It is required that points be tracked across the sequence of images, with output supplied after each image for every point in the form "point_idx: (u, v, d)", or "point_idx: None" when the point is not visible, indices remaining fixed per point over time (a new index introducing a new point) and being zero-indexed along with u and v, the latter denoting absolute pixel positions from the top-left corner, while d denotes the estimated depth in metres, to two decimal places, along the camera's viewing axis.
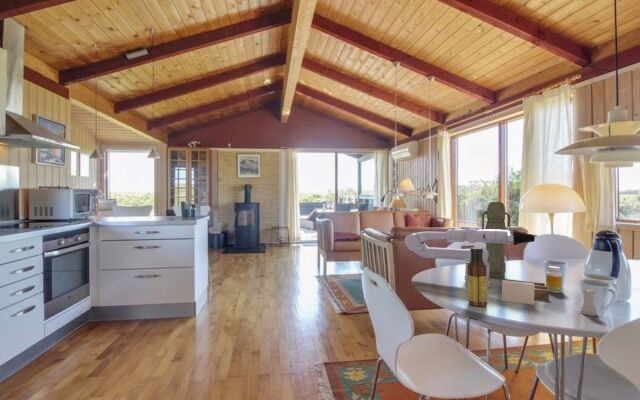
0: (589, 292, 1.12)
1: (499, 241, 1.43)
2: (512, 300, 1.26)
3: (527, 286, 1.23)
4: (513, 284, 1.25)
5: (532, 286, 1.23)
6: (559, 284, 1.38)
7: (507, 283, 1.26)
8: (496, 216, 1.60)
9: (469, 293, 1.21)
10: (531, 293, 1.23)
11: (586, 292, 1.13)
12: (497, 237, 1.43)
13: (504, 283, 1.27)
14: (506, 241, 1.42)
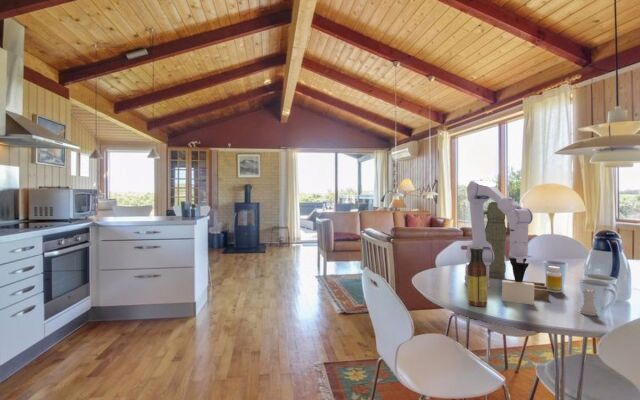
0: (589, 292, 1.12)
1: (513, 246, 1.25)
2: (512, 300, 1.26)
3: (527, 286, 1.23)
4: (513, 284, 1.25)
5: (532, 286, 1.23)
6: (559, 284, 1.38)
7: (507, 283, 1.26)
8: (496, 216, 1.60)
9: (469, 293, 1.21)
10: (531, 293, 1.23)
11: (586, 292, 1.13)
12: (518, 244, 1.23)
13: (504, 283, 1.27)
14: (513, 253, 1.25)
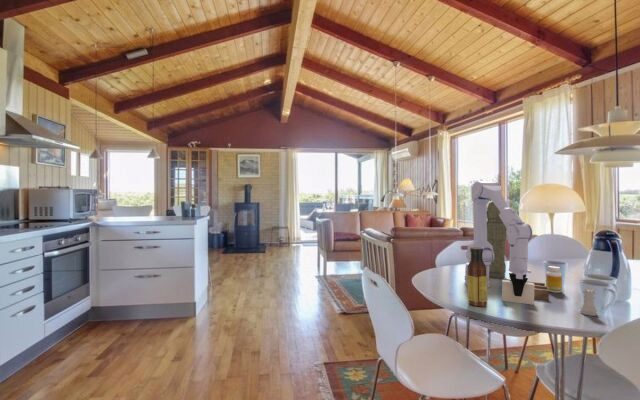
0: (589, 292, 1.12)
1: (512, 261, 1.25)
2: (512, 300, 1.26)
3: (527, 285, 1.23)
4: None
5: (532, 286, 1.23)
6: (559, 284, 1.38)
7: (507, 283, 1.26)
8: (496, 216, 1.60)
9: (469, 293, 1.21)
10: (531, 292, 1.23)
11: (586, 292, 1.13)
12: (518, 260, 1.23)
13: (504, 283, 1.27)
14: (513, 268, 1.25)
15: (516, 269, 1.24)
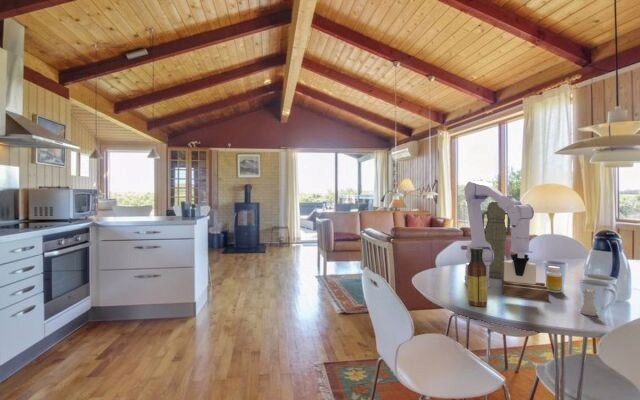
0: (589, 292, 1.12)
1: (514, 241, 1.26)
2: (514, 280, 1.27)
3: (529, 265, 1.25)
4: None
5: (534, 266, 1.24)
6: (559, 284, 1.38)
7: (509, 263, 1.27)
8: (496, 216, 1.60)
9: (469, 293, 1.21)
10: (533, 272, 1.24)
11: (586, 292, 1.13)
12: (519, 240, 1.25)
13: (506, 263, 1.28)
14: (514, 248, 1.26)
15: (518, 249, 1.25)
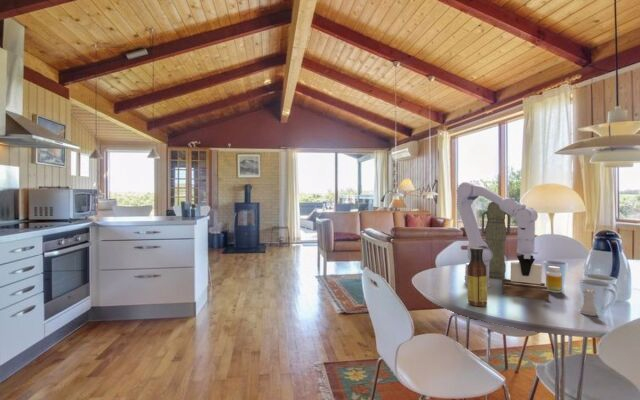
0: (589, 292, 1.12)
1: (520, 243, 1.33)
2: (520, 280, 1.34)
3: (535, 266, 1.31)
4: None
5: (539, 266, 1.31)
6: (559, 284, 1.38)
7: (516, 264, 1.34)
8: (496, 216, 1.60)
9: (469, 293, 1.21)
10: (538, 273, 1.31)
11: (586, 292, 1.13)
12: (525, 242, 1.32)
13: (513, 264, 1.35)
14: (520, 250, 1.33)
15: (524, 250, 1.32)
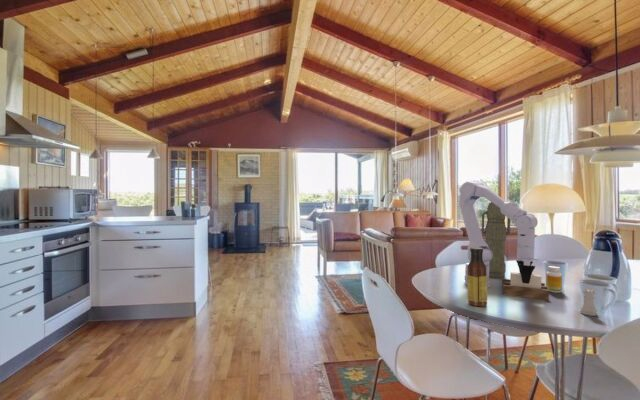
0: (589, 292, 1.12)
1: (520, 249, 1.33)
2: None
3: (534, 277, 1.32)
4: None
5: (539, 277, 1.31)
6: (559, 284, 1.38)
7: (515, 275, 1.34)
8: (496, 216, 1.60)
9: (469, 293, 1.21)
10: (538, 284, 1.31)
11: (586, 292, 1.13)
12: (525, 248, 1.32)
13: (513, 275, 1.35)
14: (520, 256, 1.33)
15: (523, 257, 1.32)
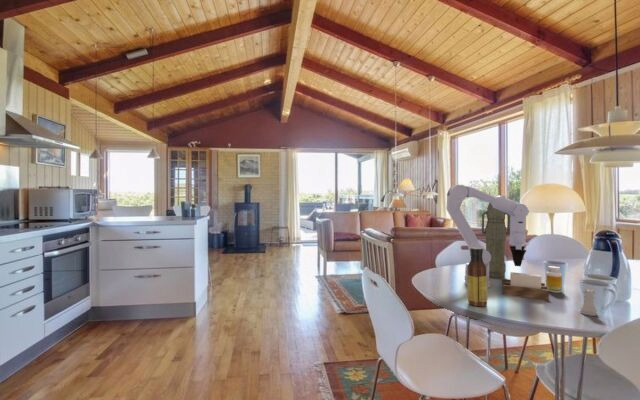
0: (589, 292, 1.12)
1: (512, 235, 1.45)
2: None
3: (534, 277, 1.32)
4: (521, 276, 1.33)
5: (539, 277, 1.31)
6: (559, 284, 1.38)
7: (515, 275, 1.34)
8: (496, 216, 1.60)
9: (469, 293, 1.21)
10: (538, 284, 1.31)
11: (586, 292, 1.13)
12: (517, 234, 1.43)
13: (513, 275, 1.35)
14: (513, 241, 1.45)
15: (516, 242, 1.44)
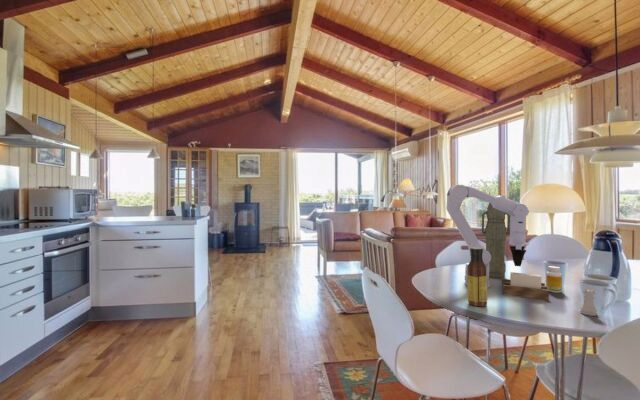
0: (589, 292, 1.12)
1: (512, 235, 1.45)
2: None
3: (534, 277, 1.32)
4: (521, 276, 1.33)
5: (539, 277, 1.31)
6: (559, 284, 1.38)
7: (515, 275, 1.34)
8: (496, 216, 1.60)
9: (469, 293, 1.21)
10: (538, 284, 1.31)
11: (586, 292, 1.13)
12: (517, 234, 1.43)
13: (513, 275, 1.35)
14: (513, 241, 1.45)
15: (516, 242, 1.44)
